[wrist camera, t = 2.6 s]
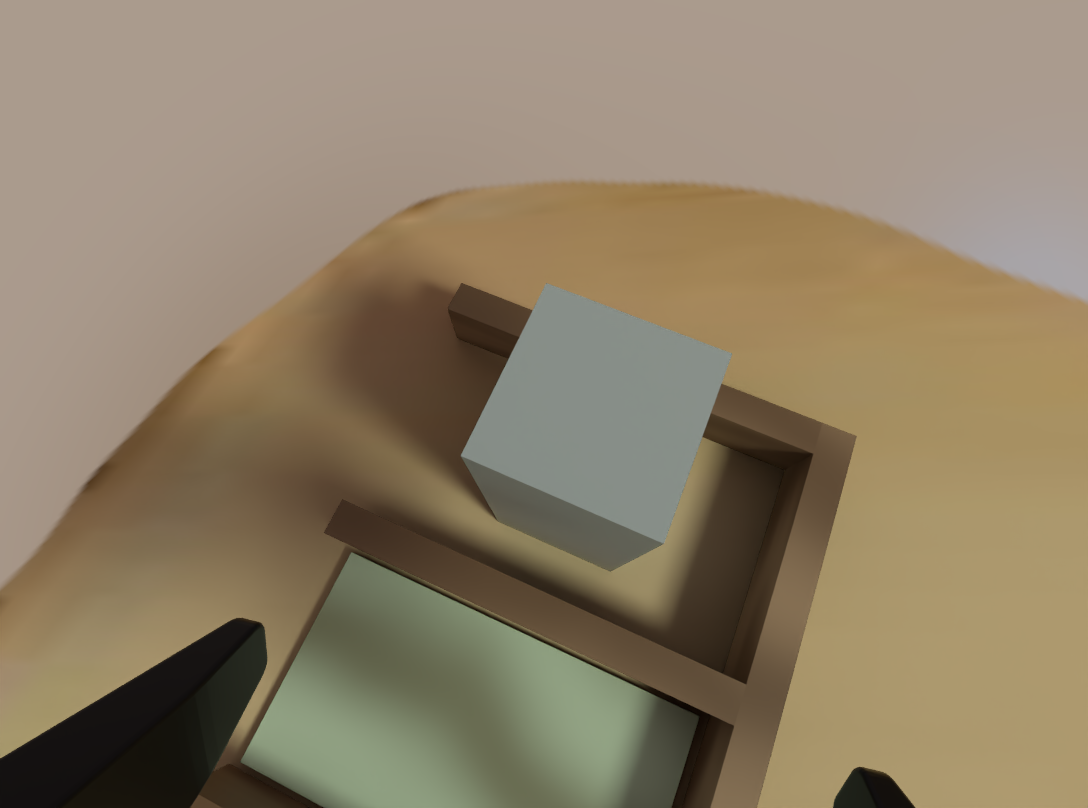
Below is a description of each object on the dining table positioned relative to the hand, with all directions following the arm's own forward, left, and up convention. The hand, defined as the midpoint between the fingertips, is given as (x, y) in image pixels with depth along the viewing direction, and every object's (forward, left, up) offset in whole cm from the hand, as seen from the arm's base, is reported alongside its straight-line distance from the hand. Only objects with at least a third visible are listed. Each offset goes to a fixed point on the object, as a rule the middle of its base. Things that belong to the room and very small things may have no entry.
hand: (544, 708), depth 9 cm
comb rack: (+1, +1, -12) cm, 12 cm away
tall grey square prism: (+6, +1, -12) cm, 13 cm away
